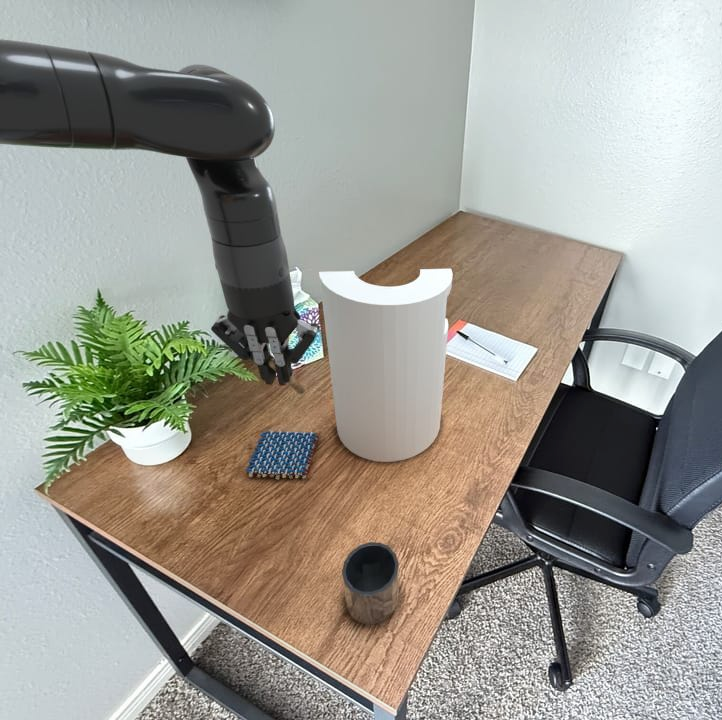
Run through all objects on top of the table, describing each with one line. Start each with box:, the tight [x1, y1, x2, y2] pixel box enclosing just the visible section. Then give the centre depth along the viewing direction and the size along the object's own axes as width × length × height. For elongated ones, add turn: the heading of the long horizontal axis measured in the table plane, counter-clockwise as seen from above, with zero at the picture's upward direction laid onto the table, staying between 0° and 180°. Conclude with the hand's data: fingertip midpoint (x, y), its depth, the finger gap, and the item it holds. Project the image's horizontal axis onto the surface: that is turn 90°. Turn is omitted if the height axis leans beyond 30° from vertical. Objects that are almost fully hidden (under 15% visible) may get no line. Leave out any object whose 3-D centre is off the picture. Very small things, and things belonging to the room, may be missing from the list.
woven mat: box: [245, 430, 319, 481], centre depth 86 cm, size 10×11×2 cm
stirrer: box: [268, 358, 306, 395], centre depth 69 cm, size 9×1×13 cm, turn 1°
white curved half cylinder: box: [318, 268, 454, 463], centre depth 82 cm, size 35×11×21 cm
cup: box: [341, 541, 400, 626], centre depth 66 cm, size 7×7×9 cm
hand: (277, 380), depth 65 cm, fingers closed on stirrer, 1 cm apart
